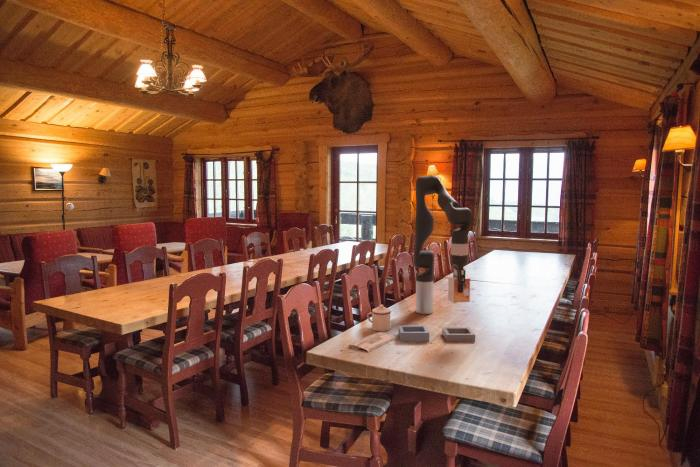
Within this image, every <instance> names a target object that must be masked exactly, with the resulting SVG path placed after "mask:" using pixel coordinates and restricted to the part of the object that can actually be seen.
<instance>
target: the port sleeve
mask: <svg viewBox="0 0 700 467" xmlns="http://www.w3.org/2000/svg"><path fill="white" fill-rule="evenodd" d="M398 337H399V341H400V342H401V343H403V342H405V343H409V342H413V343H414V342H417V343H419V342H421V343H422V342H425V343H427V342H430V330H429V329H428V327H427V325H398Z"/></svg>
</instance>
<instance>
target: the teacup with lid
mask: <svg viewBox="0 0 700 467" xmlns="http://www.w3.org/2000/svg"><path fill="white" fill-rule="evenodd" d="M391 313H392V311H391V309H390V308H387V307H385V306H384V304H379V305H378V306H377V307H375V308H372V309H371V312H369V313H367V315H366V318H367V321H368V322H369V323H371V328H372V330H373V331H375V332H388V331H390V330H391ZM370 315H371V317H372V318H371V319H370Z"/></svg>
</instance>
